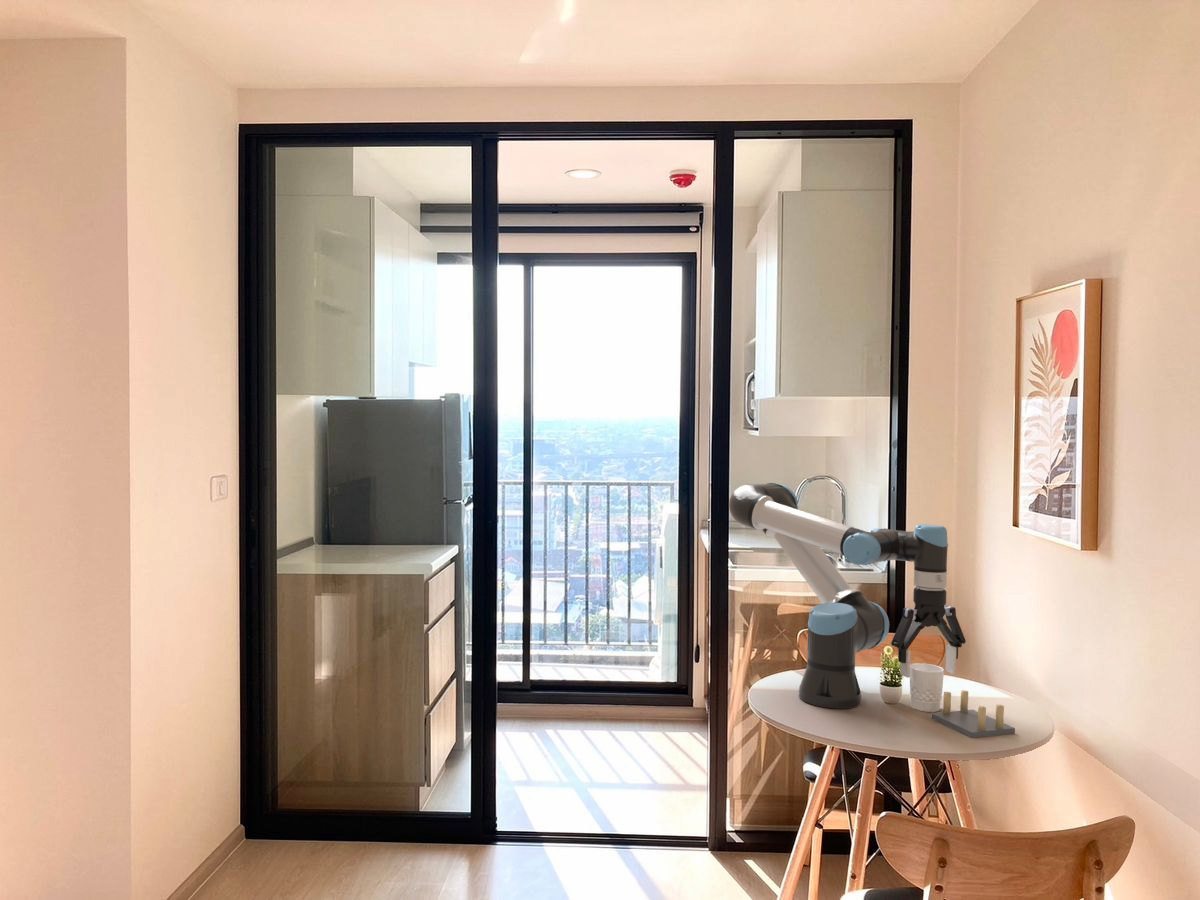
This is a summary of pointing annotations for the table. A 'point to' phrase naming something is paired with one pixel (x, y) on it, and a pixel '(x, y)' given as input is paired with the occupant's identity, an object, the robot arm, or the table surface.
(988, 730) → the grey mug peg stand
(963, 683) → the table surface
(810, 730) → the table surface
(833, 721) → the table surface
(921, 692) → the white cup
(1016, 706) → the table surface
